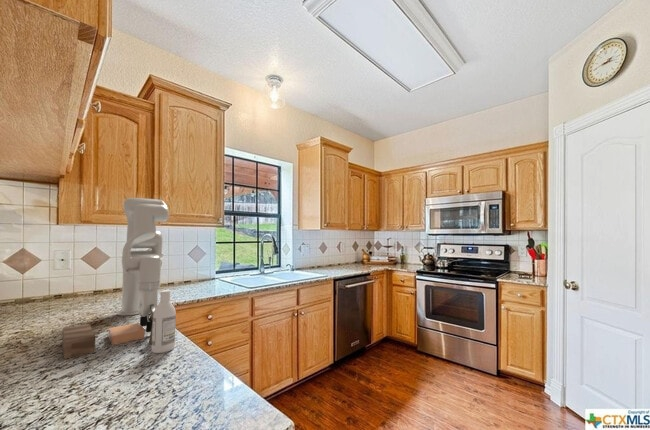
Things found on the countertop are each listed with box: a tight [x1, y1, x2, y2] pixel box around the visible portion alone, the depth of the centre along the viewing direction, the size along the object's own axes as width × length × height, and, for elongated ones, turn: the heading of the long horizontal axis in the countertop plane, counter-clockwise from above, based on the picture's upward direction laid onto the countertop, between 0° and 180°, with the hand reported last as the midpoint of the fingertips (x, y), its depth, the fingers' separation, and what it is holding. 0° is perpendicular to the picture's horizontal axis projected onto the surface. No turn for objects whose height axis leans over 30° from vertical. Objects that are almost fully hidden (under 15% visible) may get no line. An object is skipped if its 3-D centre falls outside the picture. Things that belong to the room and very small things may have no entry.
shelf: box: [61, 323, 96, 359], centre depth 99 cm, size 19×8×5 cm, turn 45°
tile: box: [107, 322, 146, 346], centre depth 109 cm, size 12×10×4 cm
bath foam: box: [151, 289, 177, 354], centre depth 97 cm, size 7×7×20 cm
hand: (147, 328), depth 114 cm, fingers open, 9 cm apart
